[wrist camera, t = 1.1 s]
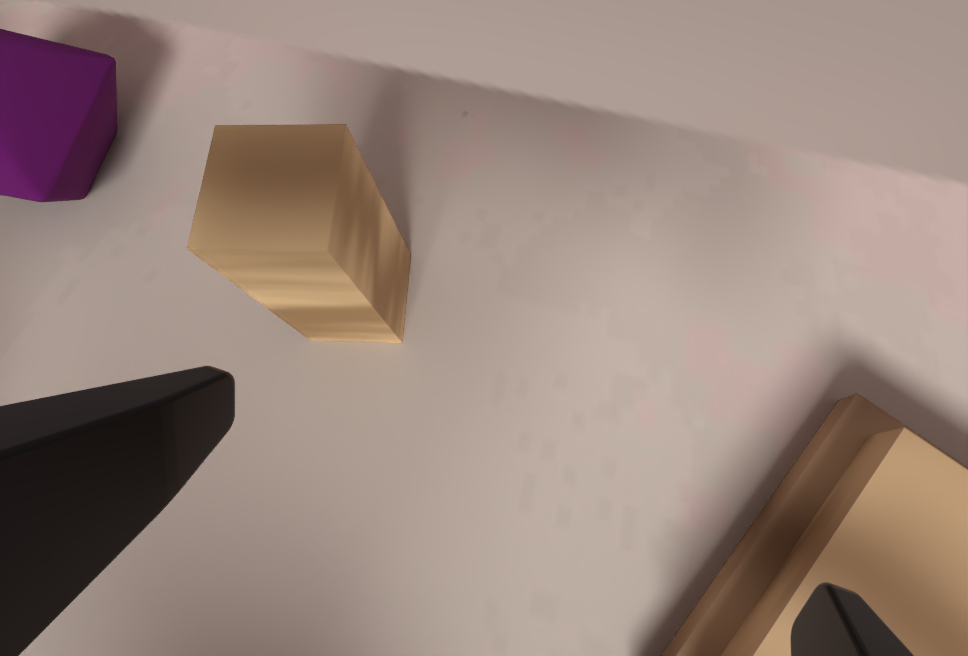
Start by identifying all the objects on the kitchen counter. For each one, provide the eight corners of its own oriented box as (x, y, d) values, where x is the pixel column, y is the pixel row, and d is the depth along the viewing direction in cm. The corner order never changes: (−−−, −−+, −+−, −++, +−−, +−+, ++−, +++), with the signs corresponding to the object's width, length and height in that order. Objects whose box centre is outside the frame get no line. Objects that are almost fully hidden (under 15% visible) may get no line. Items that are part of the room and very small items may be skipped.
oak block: (402, 342, 24) (326, 250, 15) (310, 339, 24) (186, 248, 16) (411, 255, 25) (345, 124, 16) (323, 254, 25) (214, 125, 17)
